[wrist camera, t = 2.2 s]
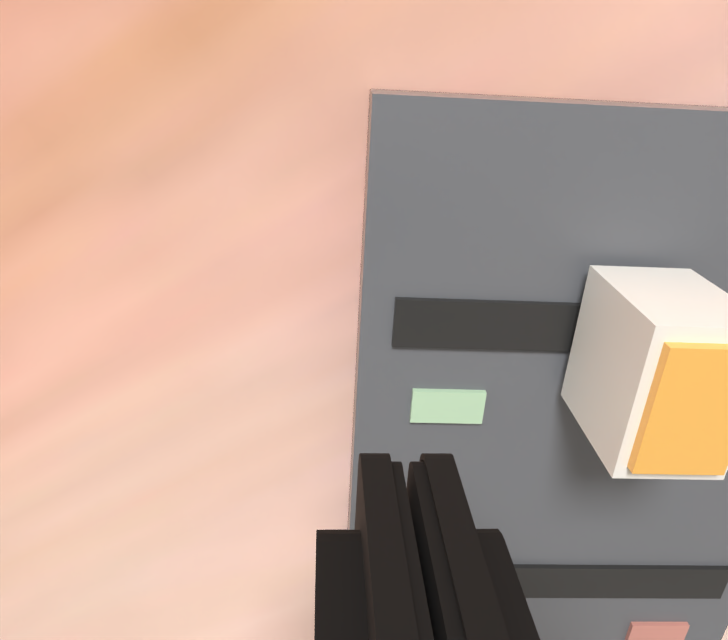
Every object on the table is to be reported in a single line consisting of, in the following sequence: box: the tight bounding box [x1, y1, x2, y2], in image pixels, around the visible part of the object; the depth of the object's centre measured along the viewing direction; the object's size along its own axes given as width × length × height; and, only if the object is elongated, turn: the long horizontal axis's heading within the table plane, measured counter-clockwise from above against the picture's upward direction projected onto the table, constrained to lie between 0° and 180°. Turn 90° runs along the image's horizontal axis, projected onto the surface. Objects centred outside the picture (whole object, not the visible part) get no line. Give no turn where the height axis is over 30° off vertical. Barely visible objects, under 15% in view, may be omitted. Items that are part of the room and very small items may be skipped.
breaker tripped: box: [561, 265, 728, 480], centre depth 16 cm, size 3×4×4 cm
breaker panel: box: [348, 89, 728, 640], centre depth 22 cm, size 16×24×2 cm, turn 177°
